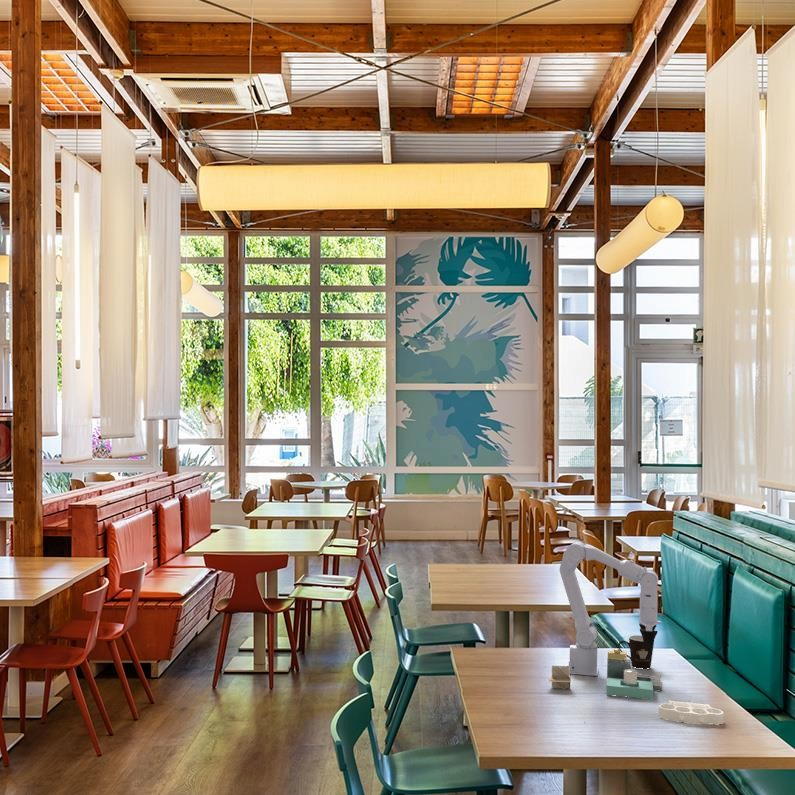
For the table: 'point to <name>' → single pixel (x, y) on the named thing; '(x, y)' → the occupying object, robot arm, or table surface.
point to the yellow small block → (617, 655)
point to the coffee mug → (638, 652)
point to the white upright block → (630, 678)
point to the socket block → (618, 666)
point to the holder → (629, 689)
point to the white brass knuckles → (690, 713)
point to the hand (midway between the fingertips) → (647, 648)
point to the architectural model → (560, 677)
